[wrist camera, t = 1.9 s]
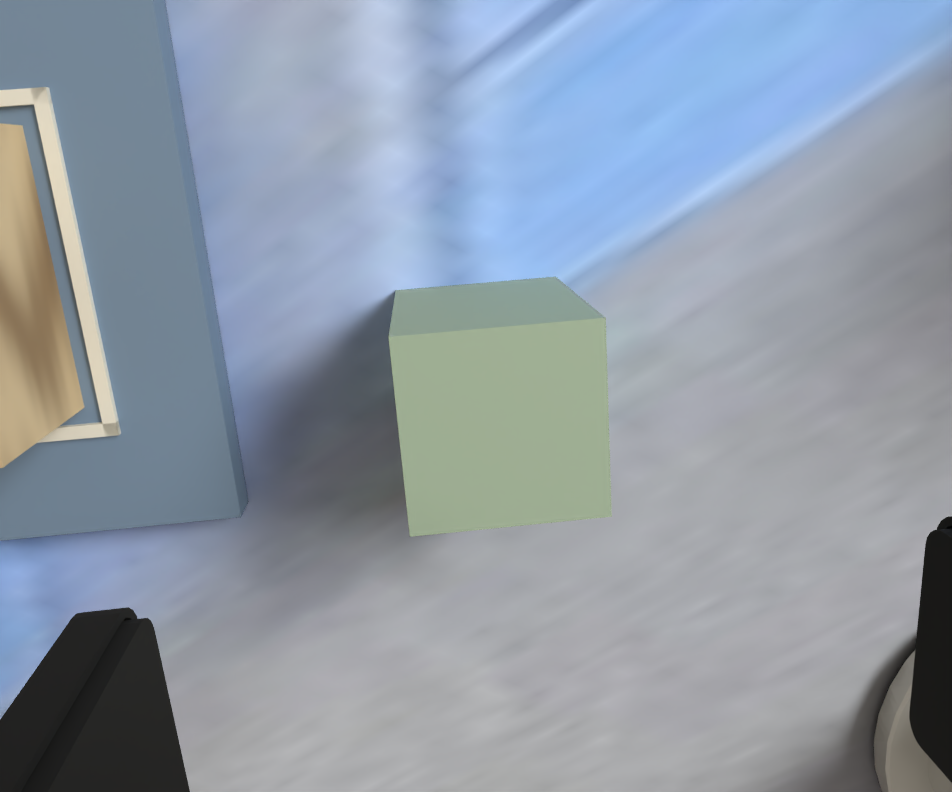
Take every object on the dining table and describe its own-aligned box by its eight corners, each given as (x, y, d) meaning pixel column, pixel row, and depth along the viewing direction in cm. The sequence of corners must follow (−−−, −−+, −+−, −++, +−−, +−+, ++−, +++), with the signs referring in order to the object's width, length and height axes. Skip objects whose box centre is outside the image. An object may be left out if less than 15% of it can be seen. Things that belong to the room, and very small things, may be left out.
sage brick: (562, 427, 27) (611, 516, 20) (411, 442, 27) (409, 536, 20) (555, 276, 25) (605, 317, 19) (395, 290, 25) (388, 337, 19)
